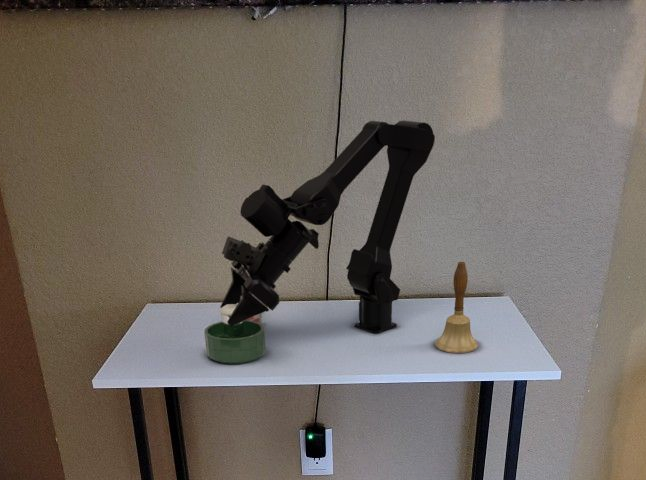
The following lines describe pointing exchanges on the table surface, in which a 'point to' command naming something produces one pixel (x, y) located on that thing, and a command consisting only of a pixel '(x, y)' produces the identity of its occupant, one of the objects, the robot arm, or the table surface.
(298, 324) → the table surface
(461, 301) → the hand bell
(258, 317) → the paintbrush
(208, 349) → the bowl
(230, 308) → the milkshake
